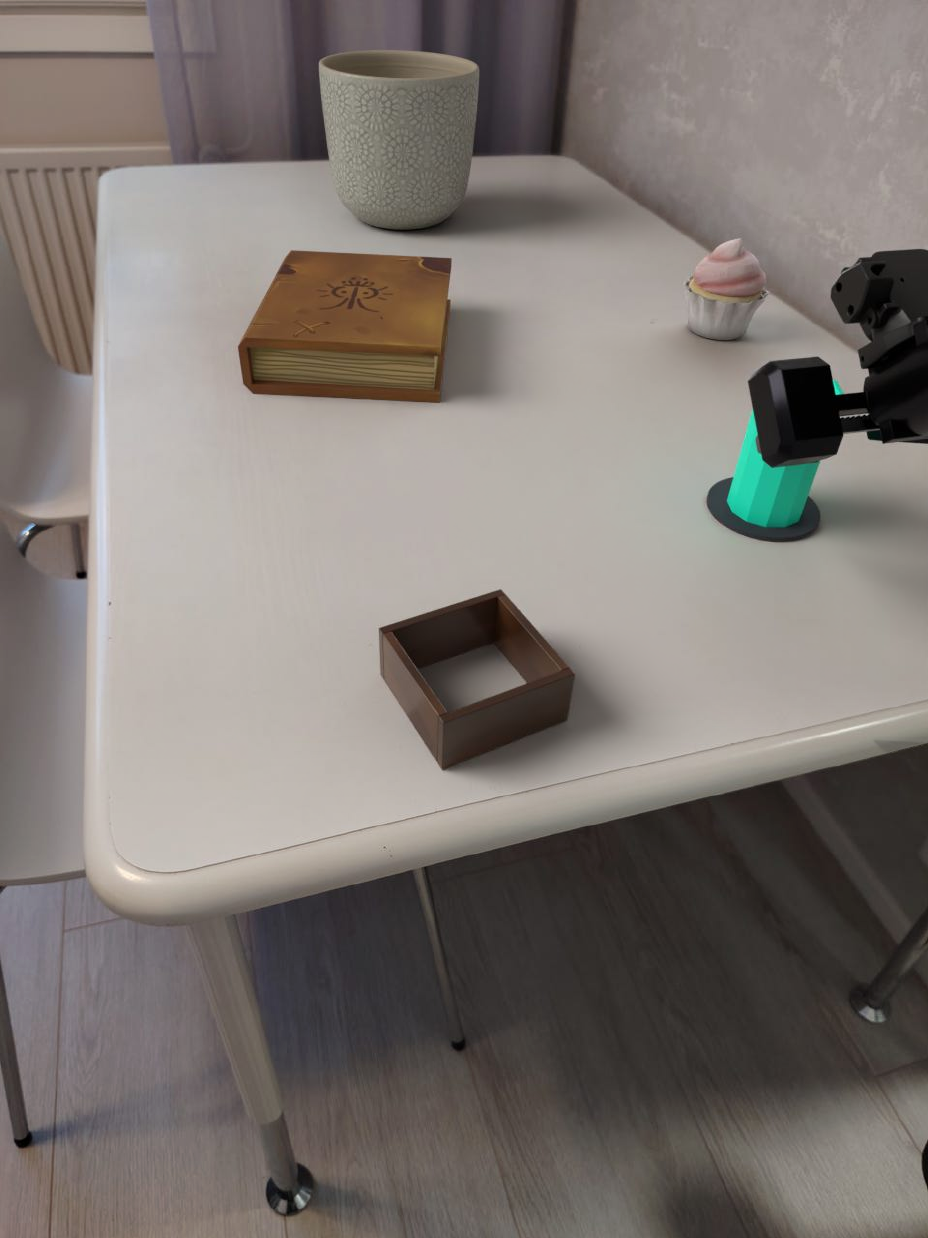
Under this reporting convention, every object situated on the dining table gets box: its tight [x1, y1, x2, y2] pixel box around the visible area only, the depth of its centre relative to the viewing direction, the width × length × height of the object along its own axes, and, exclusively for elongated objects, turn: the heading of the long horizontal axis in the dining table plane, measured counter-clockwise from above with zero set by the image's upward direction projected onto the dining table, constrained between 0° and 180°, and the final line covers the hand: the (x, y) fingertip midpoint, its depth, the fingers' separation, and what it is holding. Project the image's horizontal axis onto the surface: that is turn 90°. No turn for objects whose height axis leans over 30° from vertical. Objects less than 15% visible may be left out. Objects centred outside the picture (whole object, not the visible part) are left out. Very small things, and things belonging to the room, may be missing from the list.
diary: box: [237, 249, 453, 403], centre depth 89 cm, size 23×19×6 cm
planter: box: [318, 49, 480, 231], centre depth 118 cm, size 21×21×19 cm
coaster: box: [706, 476, 821, 542], centre depth 71 cm, size 9×9×1 cm
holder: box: [378, 588, 576, 770], centre depth 52 cm, size 9×9×4 cm
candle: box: [727, 379, 845, 527], centre depth 66 cm, size 6×6×12 cm
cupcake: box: [683, 237, 771, 341], centre depth 95 cm, size 9×9×10 cm
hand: (814, 439), depth 63 cm, fingers open, 9 cm apart
